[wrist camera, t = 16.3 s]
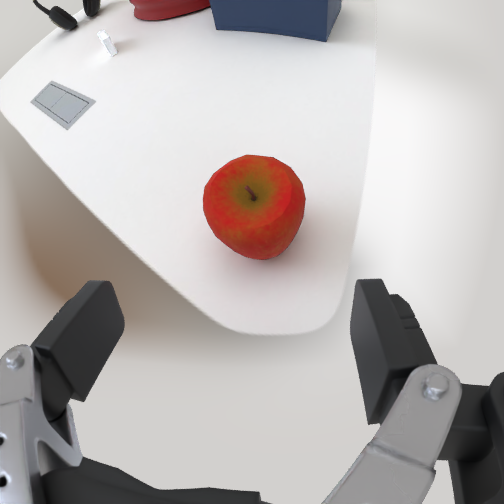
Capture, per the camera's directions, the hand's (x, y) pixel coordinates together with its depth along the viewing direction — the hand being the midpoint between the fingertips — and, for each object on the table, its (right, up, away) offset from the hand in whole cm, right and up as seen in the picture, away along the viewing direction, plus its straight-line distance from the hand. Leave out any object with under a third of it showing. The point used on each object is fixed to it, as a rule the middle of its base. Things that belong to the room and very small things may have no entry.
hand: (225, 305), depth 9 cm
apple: (+2, +3, +15) cm, 15 cm away
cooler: (+5, +36, +25) cm, 44 cm away
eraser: (-22, +34, +28) cm, 49 cm away
